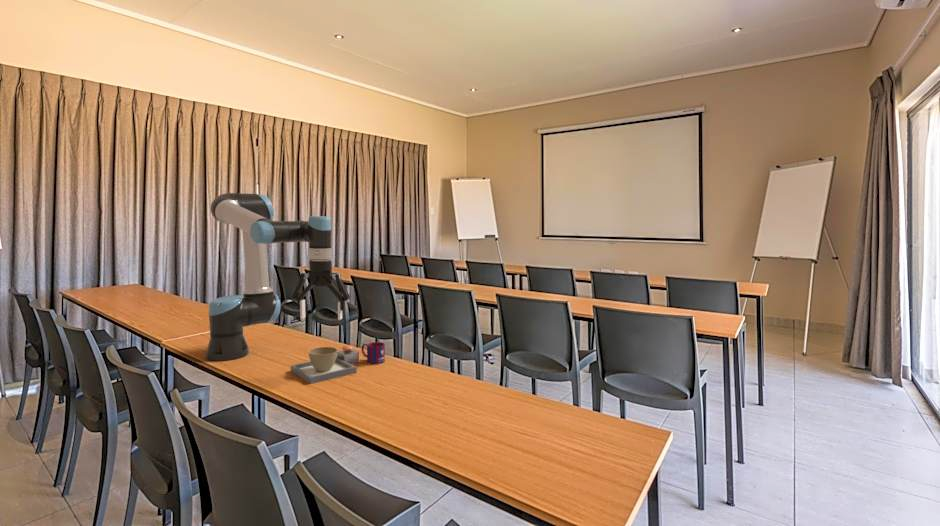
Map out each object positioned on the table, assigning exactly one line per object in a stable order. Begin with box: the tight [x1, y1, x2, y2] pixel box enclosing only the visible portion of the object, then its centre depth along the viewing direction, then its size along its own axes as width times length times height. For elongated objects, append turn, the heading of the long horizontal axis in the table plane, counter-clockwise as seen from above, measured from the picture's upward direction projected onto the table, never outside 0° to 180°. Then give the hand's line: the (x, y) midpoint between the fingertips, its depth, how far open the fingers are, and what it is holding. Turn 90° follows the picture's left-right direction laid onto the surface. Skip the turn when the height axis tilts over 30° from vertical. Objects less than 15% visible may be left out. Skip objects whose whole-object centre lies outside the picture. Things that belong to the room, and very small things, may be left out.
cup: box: [361, 341, 386, 365], centre depth 180 cm, size 7×10×7 cm
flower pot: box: [308, 346, 339, 372], centre depth 166 cm, size 10×10×7 cm
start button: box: [341, 345, 354, 353], centre depth 178 cm, size 4×4×3 cm
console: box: [337, 348, 360, 365], centre depth 178 cm, size 6×6×4 cm
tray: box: [290, 357, 358, 385], centre depth 167 cm, size 17×17×2 cm
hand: (321, 318), depth 166 cm, fingers open, 13 cm apart
